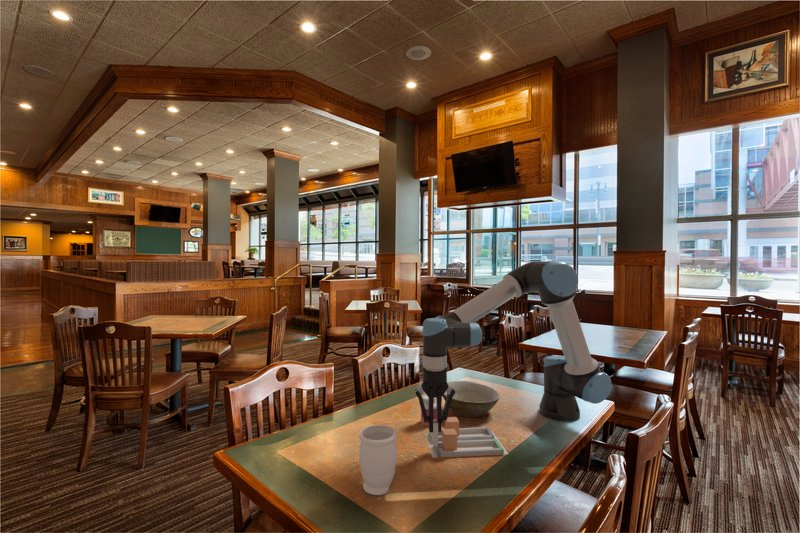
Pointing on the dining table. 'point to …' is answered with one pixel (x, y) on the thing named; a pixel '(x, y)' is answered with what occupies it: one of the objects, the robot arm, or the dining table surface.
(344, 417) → the dining table surface
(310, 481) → the dining table surface
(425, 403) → the pill bottle
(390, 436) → the jar
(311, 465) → the dining table surface
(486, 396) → the bowl
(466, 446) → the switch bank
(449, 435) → the tab
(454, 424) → the tab
